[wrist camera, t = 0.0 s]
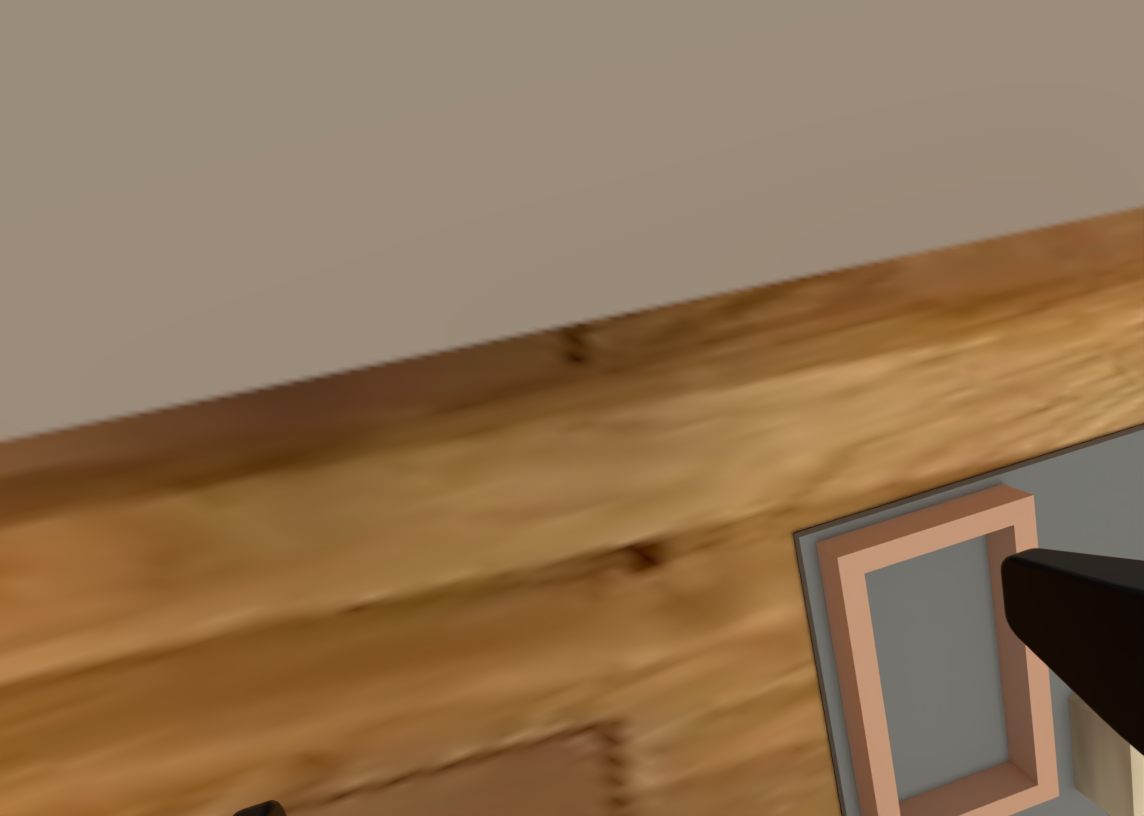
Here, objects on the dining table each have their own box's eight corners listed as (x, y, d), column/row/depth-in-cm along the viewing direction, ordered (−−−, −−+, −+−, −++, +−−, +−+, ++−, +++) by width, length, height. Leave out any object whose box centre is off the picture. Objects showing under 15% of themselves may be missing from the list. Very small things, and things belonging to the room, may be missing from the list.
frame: (1030, 771, 28) (1059, 796, 27) (864, 834, 27) (885, 863, 26) (1002, 483, 25) (1033, 494, 24) (815, 542, 24) (837, 557, 23)
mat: (1281, 747, 31) (1292, 753, 31) (859, 915, 28) (865, 923, 28) (1283, 380, 27) (1295, 382, 27) (793, 533, 24) (799, 537, 24)
